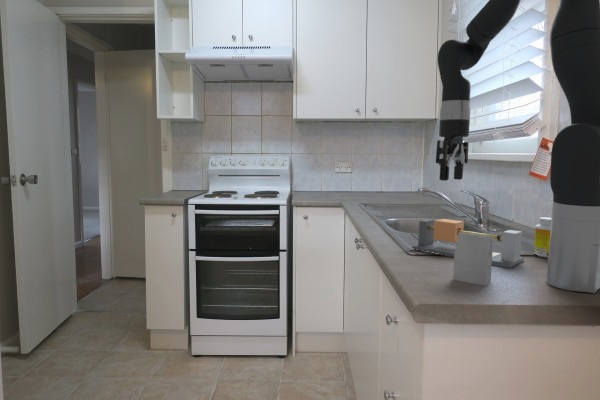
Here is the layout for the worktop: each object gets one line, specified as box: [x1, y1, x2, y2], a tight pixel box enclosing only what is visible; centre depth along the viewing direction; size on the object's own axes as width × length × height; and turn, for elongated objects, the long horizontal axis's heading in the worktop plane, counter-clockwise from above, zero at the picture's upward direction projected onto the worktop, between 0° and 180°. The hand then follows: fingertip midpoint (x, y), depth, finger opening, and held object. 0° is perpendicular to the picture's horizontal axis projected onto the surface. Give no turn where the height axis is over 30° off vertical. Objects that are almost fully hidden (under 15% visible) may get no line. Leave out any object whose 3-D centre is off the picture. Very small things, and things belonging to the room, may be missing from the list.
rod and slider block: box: [411, 218, 525, 269], centre depth 117 cm, size 26×10×8 cm, turn 46°
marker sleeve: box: [433, 218, 465, 244], centre depth 120 cm, size 6×5×5 cm
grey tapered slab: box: [452, 233, 493, 287], centre depth 93 cm, size 4×7×10 cm, turn 53°
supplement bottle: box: [532, 216, 552, 259], centre depth 118 cm, size 6×6×10 cm
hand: (451, 179), depth 118 cm, fingers open, 8 cm apart
